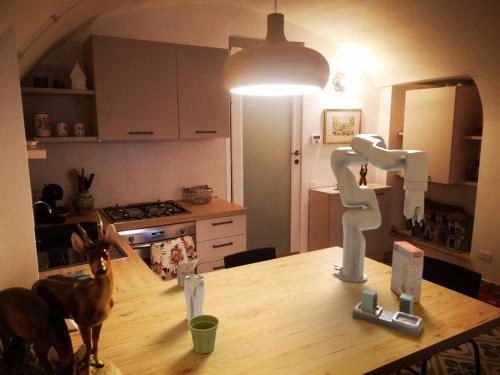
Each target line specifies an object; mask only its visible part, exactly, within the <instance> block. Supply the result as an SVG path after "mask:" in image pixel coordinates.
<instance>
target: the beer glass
mask: <svg viewBox="0 0 500 375" xmlns="http://www.w3.org/2000/svg"><path fill="white" fill-rule="evenodd" d="M205 287H206V286H205V278H204V276H203V275H201V274H195V275H189V276H187V277H185V285H184V287H183V289H184V299H185V303H186V309H187V310H186V316H185V319H186V321H187V322H188V321H189V320H190V319H191V318H193V317H195V316H199V315H204V312H203V304H204V299H205Z"/></svg>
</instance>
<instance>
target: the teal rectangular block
mask: <svg viewBox="0 0 500 375" xmlns="http://www.w3.org/2000/svg"><path fill="white" fill-rule="evenodd" d="M378 297H379V296H378V291H377V290H376V291H375V290H373V289H372V290H371V289H368V288H365V289H364V290H363V291H362V292H361V301H360V302H361V310H364V311H368V312H371V313H374V312H375V310H376V307H377V306H378V299H379V298H378Z"/></svg>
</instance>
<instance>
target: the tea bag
mask: <svg viewBox="0 0 500 375" xmlns="http://www.w3.org/2000/svg"><path fill="white" fill-rule="evenodd" d="M194 262H195V261H194ZM194 262H193V261H191V262H181V263H177V269H176V271H177V272H176V273H177V279H176V281H177V282H176V283H177V287H178V289H181V288H183V289H184V285H185V277H187V276H189V275H196V274H195V263H194Z"/></svg>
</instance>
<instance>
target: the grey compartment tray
mask: <svg viewBox="0 0 500 375" xmlns="http://www.w3.org/2000/svg"><path fill="white" fill-rule="evenodd" d="M361 302H362V301H359V302H358V304H357V305H356V306H355V307H354V308H353V310H352V316H351V317H352V318H353V319H356V320H359V321H363V322H367V323H369V324H374V325H376V326H380V327H383V328H385V329H386V328H387V329H390V330H393V331H397V332H399V333H404V334H406V335H410V336H413V337H416V338H417V337H418V338H419V337H420V335H421V333H422V330H423V328H424V320H423V318H422V317H419V316H417V315H413V314H412V315H410V314H406V313H402V312H399V311H396V312H391V311H388V310H383V307H382V306H379V305H377V307H376V310H375V312H374V313H371V312H368V311H364V310H361Z"/></svg>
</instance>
